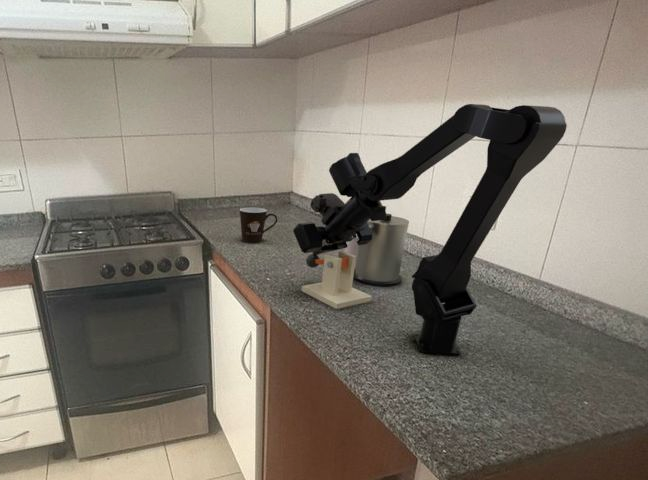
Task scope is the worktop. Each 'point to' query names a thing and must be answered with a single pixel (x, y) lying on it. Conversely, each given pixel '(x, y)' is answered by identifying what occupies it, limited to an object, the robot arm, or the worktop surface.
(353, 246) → the smoothie
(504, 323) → the worktop surface
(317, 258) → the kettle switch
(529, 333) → the worktop surface
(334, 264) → the knobbed lever stand
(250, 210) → the coffee mug
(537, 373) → the worktop surface
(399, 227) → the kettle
